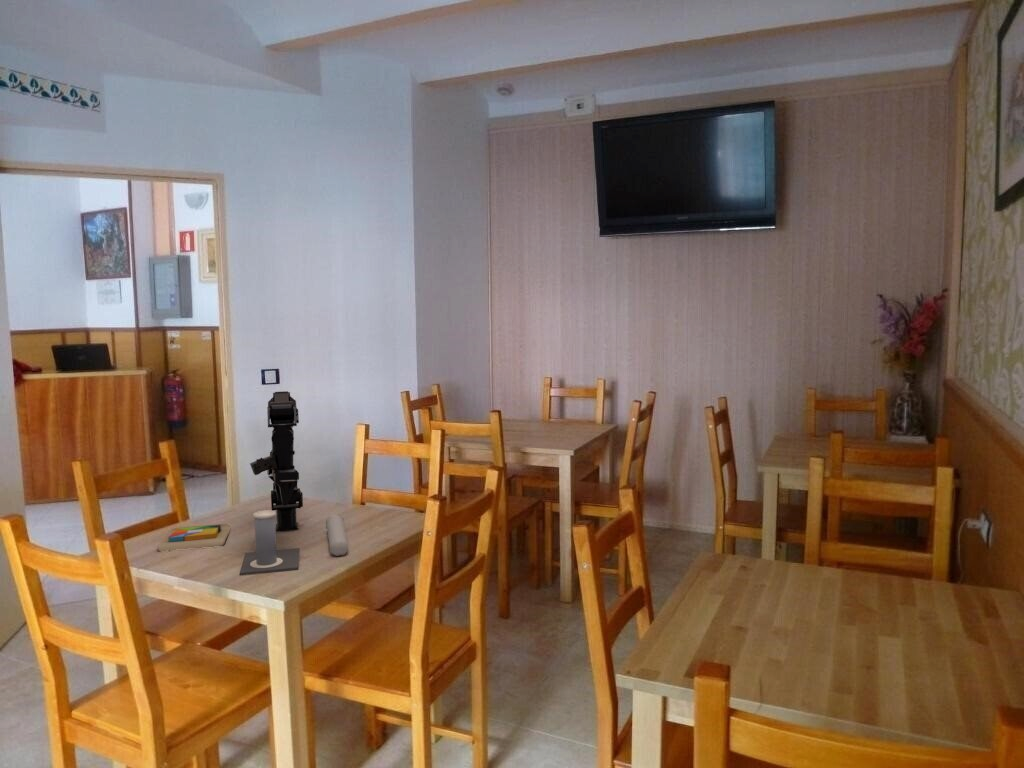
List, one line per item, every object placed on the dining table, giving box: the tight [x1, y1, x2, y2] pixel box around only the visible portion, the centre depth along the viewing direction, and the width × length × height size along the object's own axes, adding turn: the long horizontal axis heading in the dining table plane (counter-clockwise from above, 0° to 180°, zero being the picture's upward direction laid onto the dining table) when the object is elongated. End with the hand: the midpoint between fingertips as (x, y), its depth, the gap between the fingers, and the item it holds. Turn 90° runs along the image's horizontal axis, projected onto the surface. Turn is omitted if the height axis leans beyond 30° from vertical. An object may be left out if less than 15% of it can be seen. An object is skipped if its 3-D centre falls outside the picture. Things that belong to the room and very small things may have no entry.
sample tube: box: [252, 509, 277, 566], centre depth 191 cm, size 5×5×13 cm
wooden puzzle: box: [157, 522, 232, 552], centre depth 214 cm, size 18×19×4 cm
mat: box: [239, 547, 300, 576], centre depth 194 cm, size 16×14×1 cm
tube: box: [325, 514, 349, 557], centre depth 209 cm, size 5×5×25 cm
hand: (282, 503), depth 207 cm, fingers open, 9 cm apart
